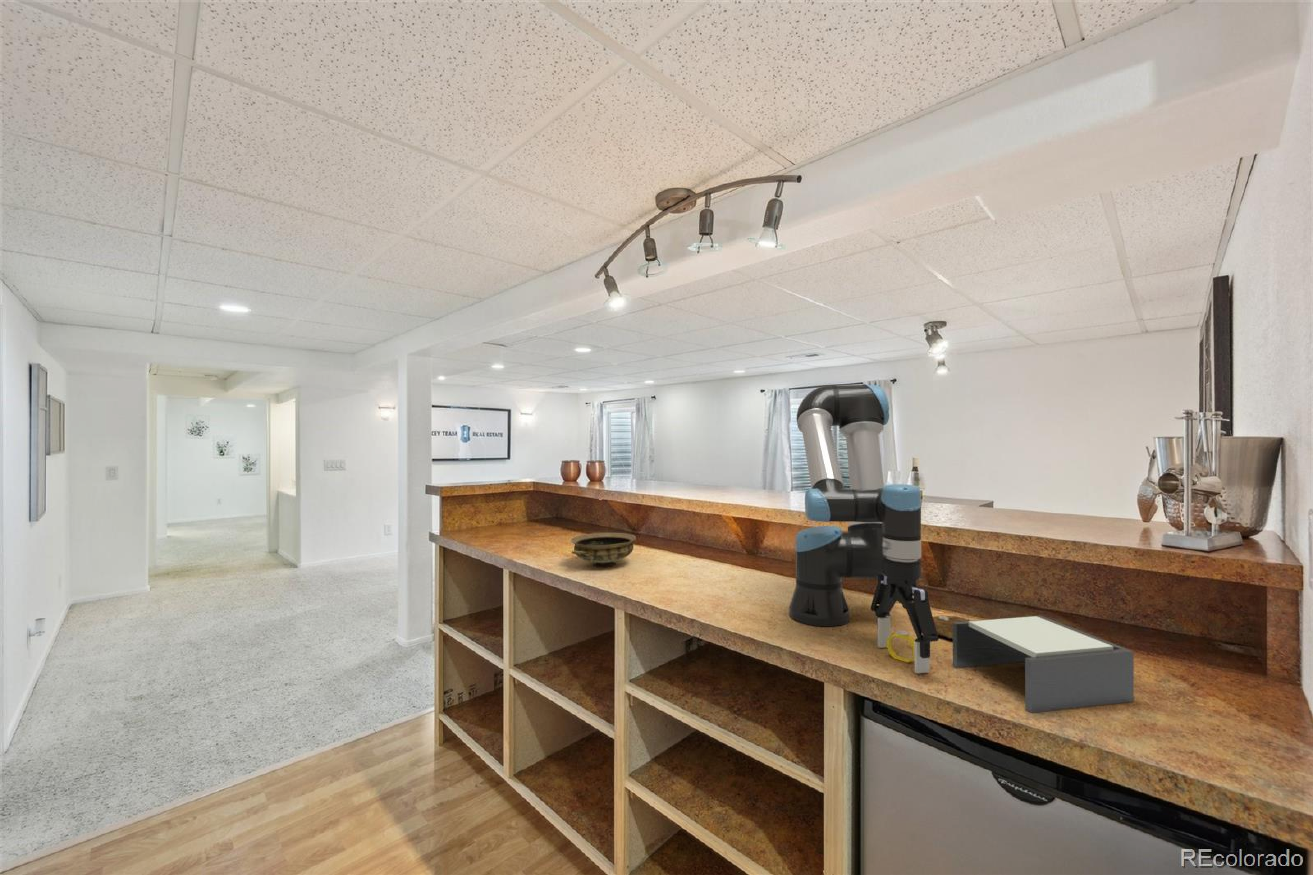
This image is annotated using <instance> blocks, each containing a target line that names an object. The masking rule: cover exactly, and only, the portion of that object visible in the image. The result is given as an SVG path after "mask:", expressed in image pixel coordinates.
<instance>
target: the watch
mask: <svg viewBox="0 0 1313 875" xmlns="http://www.w3.org/2000/svg"><path fill="white" fill-rule="evenodd" d="M894 637H896V638H899V639H901V638H902V639H906V640H907V642H909V644H910V647H911V648H912V656H911V658H910V659H909V658H904V657H902V656H899V655H898V654H897V653H896V652H895V651H894V649H893V646H892V642H893V641H892V640H893V638H894ZM914 640H915V639H913V638H912V637H911V636H910V634H909V632H908V631H906V630H895V631H894V633H891V635H890V637H889V638H888V640H887V647H886V648H887V650H888V653H889V655H890V656H891V657H892V658H893V659H894V660H897V661H898V660H899V661H901V662H904V663H907V664H908V663H910V662H912V661H915V647H914Z"/></svg>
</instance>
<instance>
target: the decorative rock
mask: <svg viewBox="0 0 1313 875" xmlns="http://www.w3.org/2000/svg"><path fill="white" fill-rule="evenodd" d="M933 620H934V623H935V627H936V631H937V635H938V636H941V638H942V637H946V638H947V639H948V640H950V639H952V640H953V622H962V621H972V620H970V619H969V618H968V619H967V618H965V617H960V616H957V615H956V616H955V615H937V616H933Z"/></svg>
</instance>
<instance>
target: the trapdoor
mask: <svg viewBox="0 0 1313 875" xmlns="http://www.w3.org/2000/svg"><path fill="white" fill-rule="evenodd" d="M1033 616H1034V617H1027V616H1020V617H1021V618H1014V617H1007V618H1008V619H1001V618H994V619H995V620H988V619H981V620H982V621H975V620H971V621H969V627H971V628H973V629H975V630H977V631H979V632H981V633H983V634H986V635H988V636H990V637H992V638H994V639H996V640H998V641H1000V642H1002V643H1004V644H1006V645H1008V646H1010V647H1012V648H1015V649H1017V650H1019V651H1021V652H1023V653H1025V654H1027V655H1029V656H1031V657H1041V656H1052V655H1063V654H1074V653H1085V652H1096V651H1107V650H1113V646H1111V645H1109V644H1106V643H1103V642H1101V641H1098V640H1096V639H1093V638H1091V637H1088V636H1086V635H1083V634H1080V633H1078V632H1075V631H1073V630H1070V629H1068V628H1065V627H1063V626H1060V625H1057V624H1055V623H1052V622H1050V621H1047V620H1045V619H1042V618H1040V617H1037V616H1038V615H1033Z"/></svg>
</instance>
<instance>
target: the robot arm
mask: <svg viewBox="0 0 1313 875" xmlns="http://www.w3.org/2000/svg"><path fill="white" fill-rule="evenodd" d="M889 404H890V403H889V401H888V397H887V393H886V392H885V390H884V388H882V387H881V386H880V385H876V384H867V383H864V384H863V383H862V384H850V385H849V384H848V385H829V384H828V385H822V386H819V387H817V388H815V389H813V390H812V391H810V392H809V393H808V394H806V396H804V398H803V399H802V401H801V403H799V406H798V408H797V413H796V424H797V429H798V430H799V431H800V432H801V433H802V438H803V444H804V450H805V458H806V462H807V470H808V474H809V481H810V486H811V487H810V488H809V489H807V490H806V491H805V495H804V511H805V512H804V513H805V516H806V519H808V520H809V521H813V522H823V523H828V522H829V523H830V522H831V523H832V522H834V523H835V522H840V523H841V522H844V523H845V522H847V523H848V522H849V524H848V526H847V531H846V532H844V531H843V530H842V528H841V527H840V526H836V525H818V526H817V525H816V526H811V527H808V528H804V529H801V530H800V531H798V532H797V534H796V536H795V537H796V538H795V546H794V551H795V588H794V590H793V594H792V596H791V600H790V603H789V607H788V608H789V612H788V613H789V614H788V615H789V617H791V619H793V620H795V621H796V622H799V623H801V624H805V625H810V626H814V627H815V626H816V627H817V626H818V627H836V626H841V625H844V624H847V623H848V622H849V621H850V608H849V605H848V603H847V599H846V596H845V594H844V590H843V579H871V580H874V579H875V580H877V584H876V588H875V592H874V595H873V599H872V602H871V605H870V610H871V611H872V612H874V613H875V614H874V615H875V616H876V618H877V619H876V621H877V622H876V624H877V626H876V627H877V647H878V648H880V649H882V648H887V640H888V638H889V637H890V635H892V633H891V631H892V630H891V626H892V625H891V624H892V623H891V621H892V620H891V619H892V618H891V617H890V616H891V613H890V612H891V611H892V609H893V608H894V607H895V604H896V603H897V602H898V603H900V604H901V605H902V608H903V609H905V610H906V613H907V616H908V618H909V621H910V623H911V626H912V628H913V631H914V633H915V635H916V638H915V639H913V640H914V647H915V659H914V673H915V674H924V673H930V658H931V642H939V635H938V634H937V631H936V627H935V623H934V620H933V617H934V616H933V613H932V609H931V606H930V602H929V600H930V599H929V590H928V589H926V588H923V589H922V588H919V587H918V584H917V581H919V579H921V577H922V561H921V560H920V559H921V558H922V505H923V502H922V497H921V490H920V487H918V486H916V485H912V484H896V483H895V484H886V485H885V484H884V475H883V465H882V463H883V462H882V456H881V447H880V438H879V437H880V436H879V435H880V434H881V433H882V431H883V430H884V426H885V425H887V424H888V423H889V420H890V412H889V411H890V405H889ZM832 427H839V433H840V435H842V436H843V437H844V438H845V441H846V442H845V443H846V454H847V465H848V467H847V468H848V476H849V477H848V478H849V489H848V488H847V489H845V485H844V484H845V483H844V481H843V476H842V471H841V468H840V463H839V459H838V458H839V457H838V454H837V448H836V446H835V441H834V436H833V432H832Z"/></svg>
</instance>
